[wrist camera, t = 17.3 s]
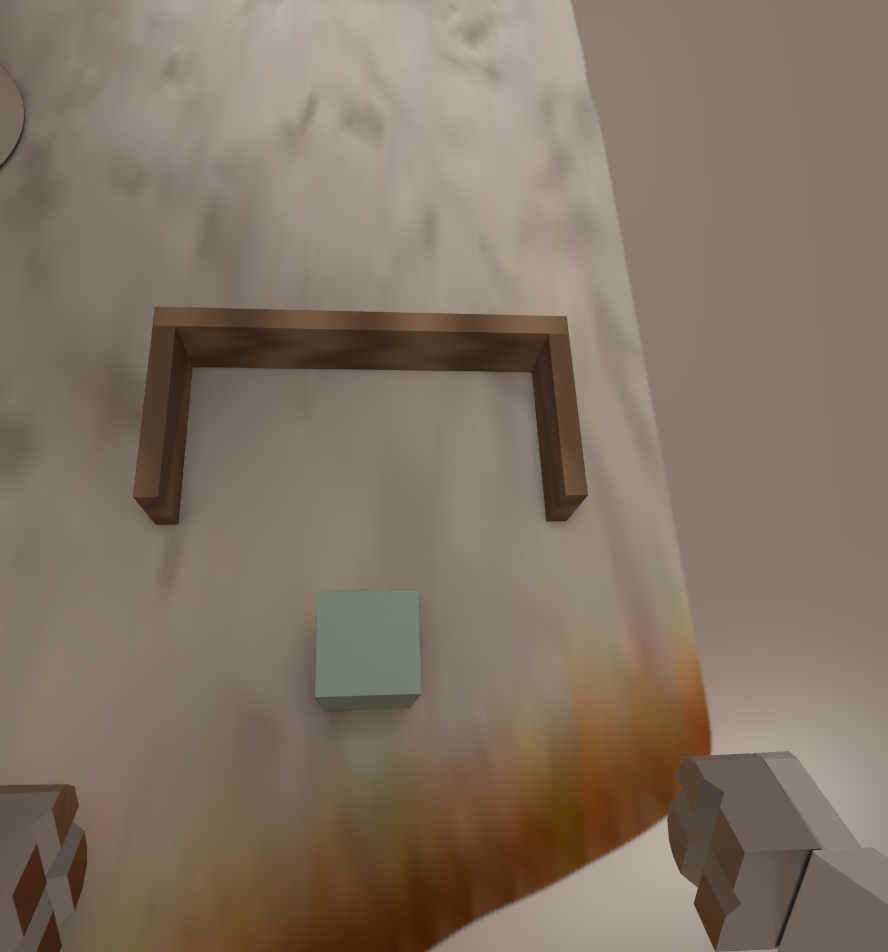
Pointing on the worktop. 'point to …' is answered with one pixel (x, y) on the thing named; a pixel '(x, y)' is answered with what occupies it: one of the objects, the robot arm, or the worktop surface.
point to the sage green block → (367, 650)
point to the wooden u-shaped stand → (354, 347)
